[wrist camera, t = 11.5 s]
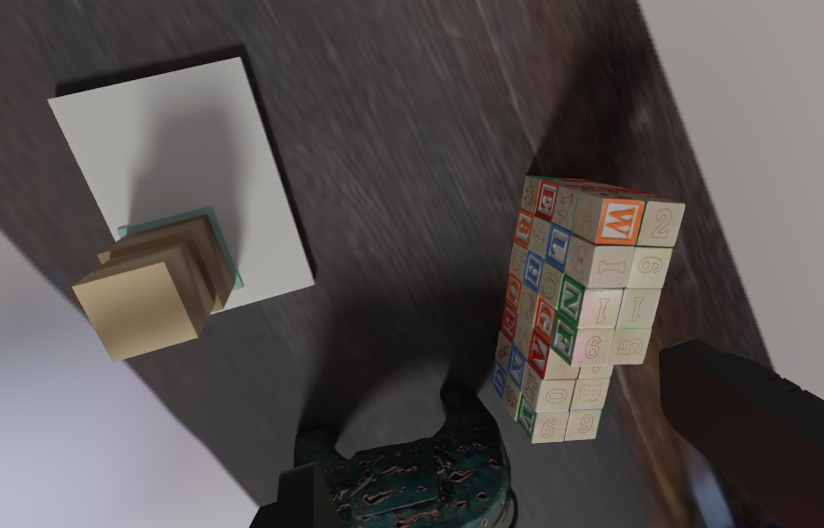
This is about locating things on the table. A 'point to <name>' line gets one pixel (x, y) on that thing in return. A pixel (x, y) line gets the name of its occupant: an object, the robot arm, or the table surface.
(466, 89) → the table surface
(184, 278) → the oak cube
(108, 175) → the build board
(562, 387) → the stack of blocks
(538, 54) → the table surface
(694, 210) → the table surface
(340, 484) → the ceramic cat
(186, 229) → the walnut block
